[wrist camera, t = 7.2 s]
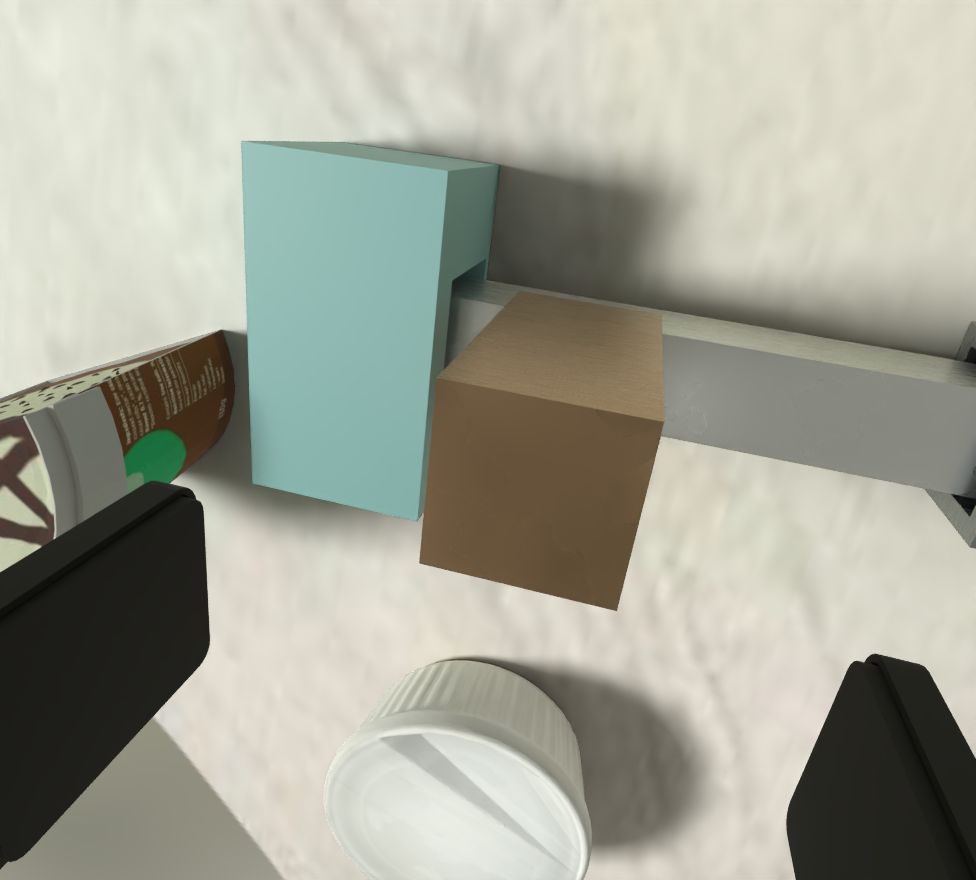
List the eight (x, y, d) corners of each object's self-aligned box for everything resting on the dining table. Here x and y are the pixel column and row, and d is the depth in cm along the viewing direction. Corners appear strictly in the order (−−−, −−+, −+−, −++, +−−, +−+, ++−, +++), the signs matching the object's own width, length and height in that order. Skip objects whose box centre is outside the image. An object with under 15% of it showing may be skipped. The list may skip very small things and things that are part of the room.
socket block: (500, 164, 22) (447, 170, 16) (467, 443, 26) (417, 521, 21) (340, 141, 23) (240, 141, 17) (333, 415, 27) (252, 483, 21)
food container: (90, 508, 32) (-132, 650, 23) (23, 387, 30) (-248, 491, 21) (312, 462, 28) (149, 612, 19) (252, 320, 26) (39, 412, 17)
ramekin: (616, 666, 29) (608, 769, 24) (584, 841, 33) (572, 956, 29) (368, 614, 31) (315, 700, 26) (369, 786, 35) (325, 885, 31)
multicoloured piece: (1046, 357, 19) (1443, 574, 10) (986, 479, 21) (1272, 769, 11) (418, 253, 22) (231, 337, 13) (410, 367, 24) (239, 519, 14)
